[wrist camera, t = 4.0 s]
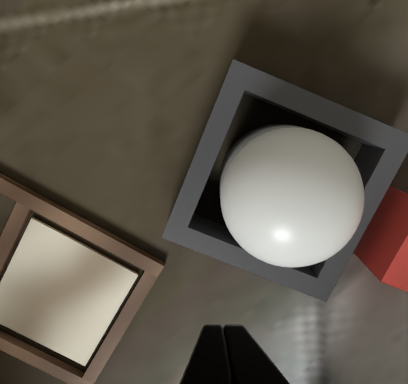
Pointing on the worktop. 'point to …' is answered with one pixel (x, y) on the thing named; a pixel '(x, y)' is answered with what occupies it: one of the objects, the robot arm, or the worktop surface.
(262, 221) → the dome
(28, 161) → the worktop surface
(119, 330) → the brown flat wooden frame
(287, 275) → the base
